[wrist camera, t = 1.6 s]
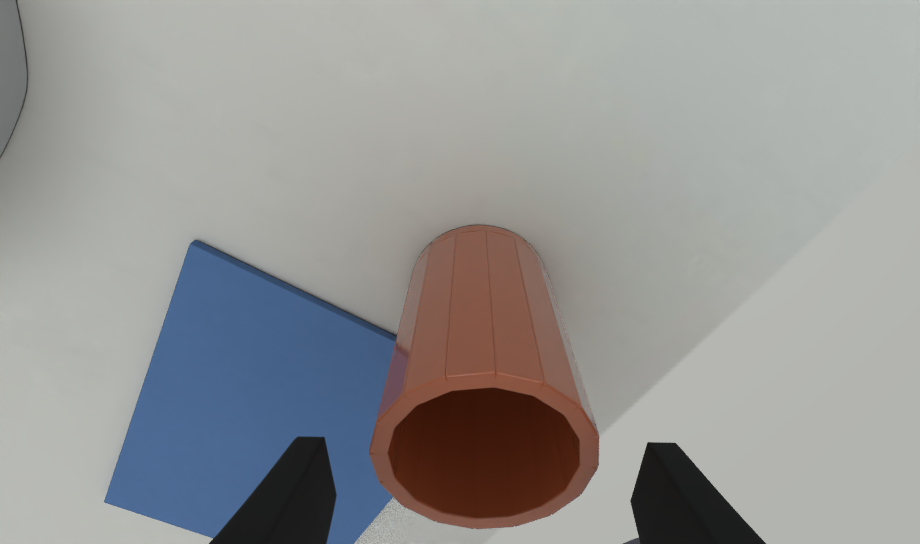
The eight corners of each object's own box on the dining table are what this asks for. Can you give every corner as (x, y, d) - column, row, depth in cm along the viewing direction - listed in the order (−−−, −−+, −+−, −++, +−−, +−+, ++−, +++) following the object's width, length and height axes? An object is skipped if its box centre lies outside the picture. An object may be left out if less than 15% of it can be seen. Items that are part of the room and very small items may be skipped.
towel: (195, 239, 17) (189, 243, 16) (486, 379, 20) (487, 385, 19) (108, 495, 24) (103, 502, 24) (328, 568, 27) (326, 576, 27)
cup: (568, 309, 18) (632, 490, 11) (454, 359, 19) (444, 549, 12) (508, 198, 16) (539, 335, 9) (384, 264, 17) (323, 428, 10)
